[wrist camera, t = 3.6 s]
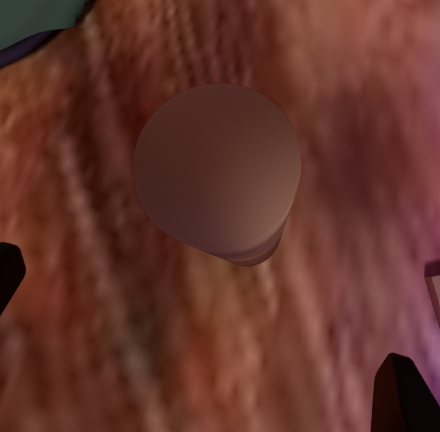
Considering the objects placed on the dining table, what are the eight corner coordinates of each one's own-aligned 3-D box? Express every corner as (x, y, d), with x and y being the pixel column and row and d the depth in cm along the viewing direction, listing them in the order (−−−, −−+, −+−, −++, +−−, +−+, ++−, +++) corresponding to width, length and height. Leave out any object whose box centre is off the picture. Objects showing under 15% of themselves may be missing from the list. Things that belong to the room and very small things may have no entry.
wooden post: (287, 258, 20) (320, 227, 7) (220, 272, 20) (147, 264, 8) (272, 193, 20) (279, 65, 8) (207, 207, 21) (119, 105, 8)
